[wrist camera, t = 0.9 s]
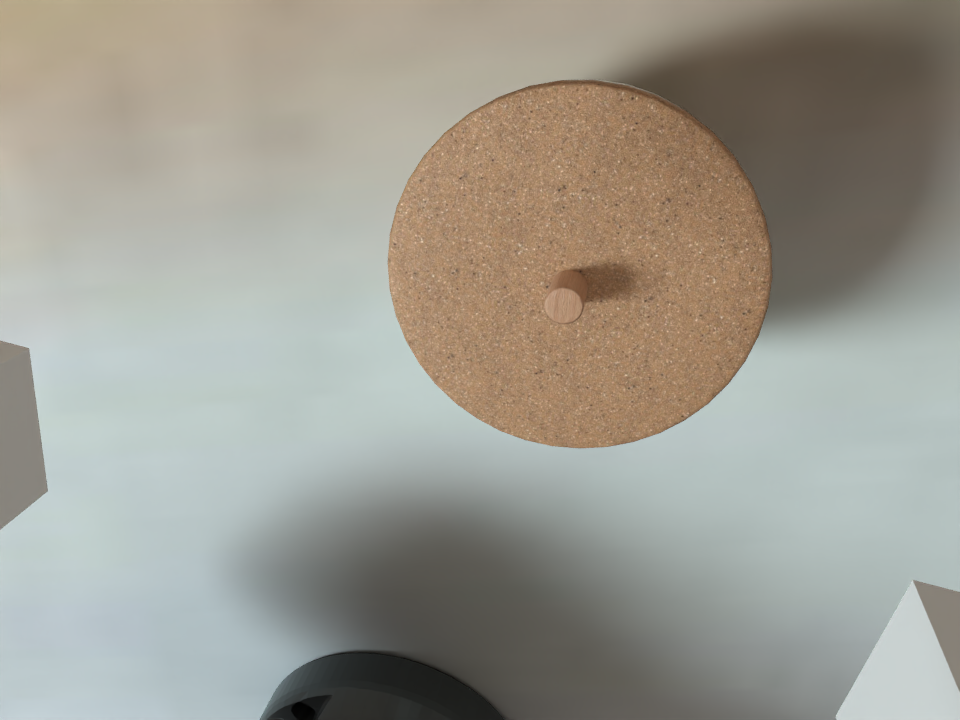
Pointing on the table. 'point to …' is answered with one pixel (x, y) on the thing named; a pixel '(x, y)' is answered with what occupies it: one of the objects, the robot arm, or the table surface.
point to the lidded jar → (580, 264)
